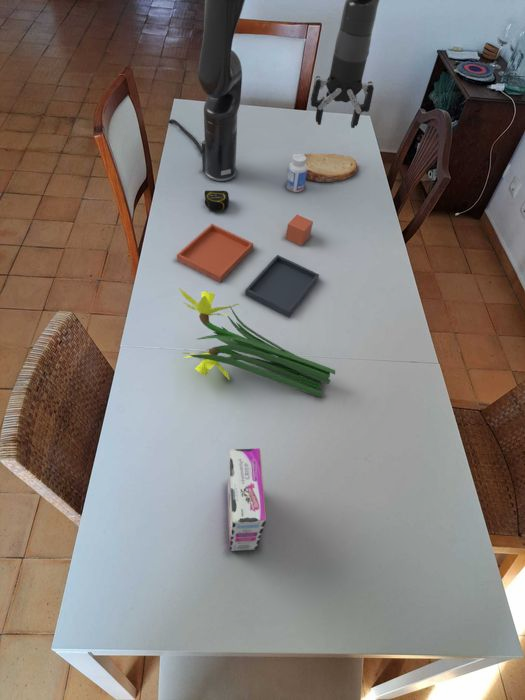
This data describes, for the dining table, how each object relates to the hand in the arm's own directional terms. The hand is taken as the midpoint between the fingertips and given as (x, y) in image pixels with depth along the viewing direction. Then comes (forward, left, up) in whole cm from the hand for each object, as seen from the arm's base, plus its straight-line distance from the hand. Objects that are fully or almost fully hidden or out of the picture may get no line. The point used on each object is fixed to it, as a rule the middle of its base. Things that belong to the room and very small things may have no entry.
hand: (335, 124), depth 115 cm
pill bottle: (-10, +4, -24) cm, 26 cm away
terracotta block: (+2, -16, -24) cm, 29 cm away
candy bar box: (+30, -87, -24) cm, 95 cm away
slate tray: (+8, -35, -24) cm, 44 cm away
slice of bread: (-7, +18, -24) cm, 31 cm away
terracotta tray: (-12, -35, -24) cm, 44 cm away
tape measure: (-24, -18, -24) cm, 39 cm away
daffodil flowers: (+15, -59, -24) cm, 66 cm away
